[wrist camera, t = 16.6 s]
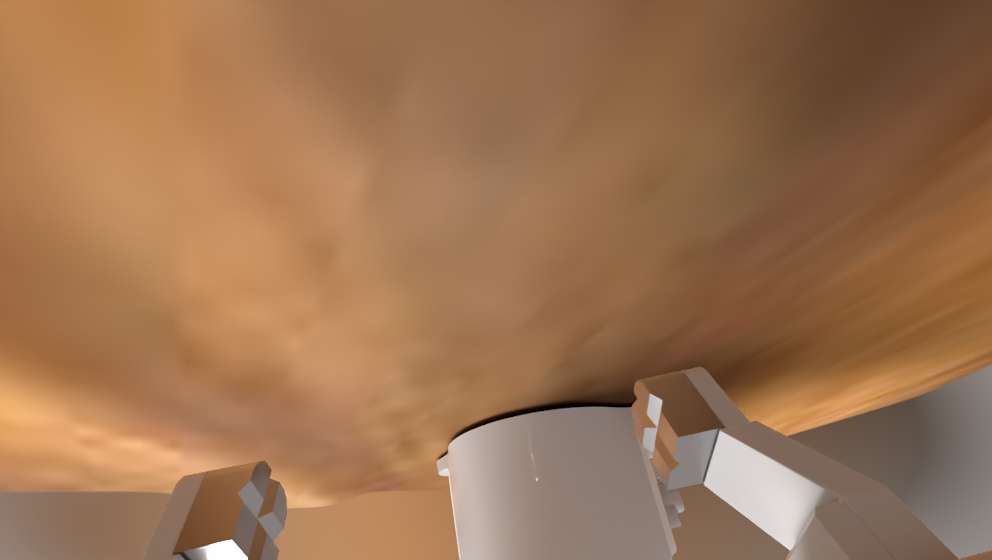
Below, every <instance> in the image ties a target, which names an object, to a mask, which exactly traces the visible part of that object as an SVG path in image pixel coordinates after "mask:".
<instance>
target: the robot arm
mask: <svg viewBox="0 0 992 560" xmlns="http://www.w3.org/2000/svg"><path fill="white" fill-rule="evenodd" d="M634 393H635V395H636V397H637V400H636V401H635V402H634V404H633V405H632V407H627V408H616V407H576V408H564V409H555V410H548V411H541V412H535V413H529V414H524V415H520V416H515V417H511V418H507V419H503V420H499V421H496V422H492V423H489V424H486V425H483V426H480V427H478V428H475V429H473V430H470V431H468V432H466V433H464V434H462V435H460V436H459V437H457V438H456V439H454V440H453V441H452V442H451V443H450V444H449V446H448V454H447V455H445V456H444V457H442V458H440V459H439V460H438V461H437V467H438V474H439V475H441V476H449V483H450V491H451V498H452V506H453V513H454V521H455V528H456V536H457V543H458V550H459V558H460V560H673V559H672V555H673V554H674V553H675V552H676V551H677V548H676V545H675V541H674V538H673V535H672V531H671V528H677V527H680V526H681V523H680V518H679V515H678V513H680V512H682V511H684V507H683V503H682V500H681V496H680V493H679V490H678V488H680V487H685V486H690V485H695V484H699V483H703V482H704V485H705V486H706V487H708V488H709V489H710V490H711V491H713V492H714V493H716V494H717V495H718V496H719V497H721V498H722V499H723V500H725V501H726V502H727V503H729V504H730V505H731V506H733V507H734V508H735V509H736V510H738V511H739V512H740V513H742V514H743V515H744V516H746V517H747V518H748V519H750V520H751V521H752V522H753V523H755V524H756V525H757V526H759V527H760V528H761V529H763V530H764V531H765V532H767V533H768V534H769V535H771V536H772V537H773V538H774V539H776V540H777V541H778V542H780V543H781V544H782V545H784V546H785V547H786V548H788V549H789V550H790V553H789V555H788V556H787V558H786V560H992V550H990V551H986V552H982V553H979V554H975V555H971V556H968V557H964V558H961V559H958V558H957V557H956V556H955V555H954V554H953V553H952V552H951V551H950V550H949V549H948V548H947V547H946V546H945V545H944V544H943V543H942V542H941V541H940V540H939V539H938V538H937V537H936V536H935V535H934V534H933V533H932V532H931V531H930V530H929V529H928V528H927V527H926V526H925V525H924V524H923V523H922V522H921V521H920V520H919V519H918V518H917V517H916V516H915V515H914V514H913V513H912V512H911V511H910V510H909V509H908V508H907V507H906V506H905V505H904V504H903V503H902V502H901V501H900V500H899V499H898V498H897V497H896V496H895V495H894V494H893V493H892V492H891V491H890V490H889V489H888V488H887V487H886V486H884V485H882V484H880V483H878V482H876V481H874V480H872V479H870V478H868V477H866V476H864V475H862V474H860V473H858V472H856V471H854V470H852V469H850V468H848V467H846V466H844V465H842V464H840V463H838V462H836V461H834V460H832V459H830V458H828V457H826V456H824V455H822V454H821V453H818V452H817V451H815V450H812V449H810V448H809V447H807V446H805V445H803V444H801V443H798V442H797V441H795V440H793V439H791V438H789V437H787V436H785V435H783V434H781V433H779V432H777V431H775V430H773V429H771V428H769V427H767V426H765V425H763V424H761V423H759V422H757V421H754V422H749V421H748V419H747V418H746V417H745V416H744V415H743V413H742V412H741V411H740V410H739V409H738V407H737V406H736V405H735V404H734V403H733V402H732V400H731V399H730V398H729V397H728V396H727V394H726V393H725V392H724V391H723V390H722V388H721V387H720V386H719V385H718V384H717V382H716V381H715V380H714V379H713V378H712V377H711V375H710V374H709V373H708V372H707V371H706V369H704V368H702V367H696V368H691V369H687V370H682V371H675V372H671V373H666V374H662V375H658V376H653V377H649V378H644V379H640V380H637V381H636V383H635V385H634ZM270 474H271V469H270V467H269V466H268V464H267V463H266V462H265V461H260V462H255V463H249V464H244V465H239V466H233V467H228V468H223V469H217V470H212V471H207V472H202V473H197V474H192V475H187V476H184V477H183V478H182V479H181V480H180V481H179V482H178V483H177V484H176V486H175V488H174V490H173V492H172V495H171V497H170V499H169V501H168V503H167V505H166V508H165V510H164V512H163V514H162V516H161V518H160V521H159V523H158V525H157V527H156V529H155V531H154V533H153V536H152V538H151V540H150V542H149V544H148V546H147V549H146V551H145V553H144V555H143V557H142V559H141V560H277V557H278V553H279V550H278V548H277V546H276V545H275V543H274V540H275V539H276V537H277V536H278V535H279V534H280V532H281V531H282V530H283V529H284V524H285V520H286V514H287V511H286V510H287V503H286V496H285V492H284V489H283V487H282V486H281V484H280V482H277V481H275V480H272V479H270ZM657 479H661V481H658V483H657V481H656V480H657Z"/></svg>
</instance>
